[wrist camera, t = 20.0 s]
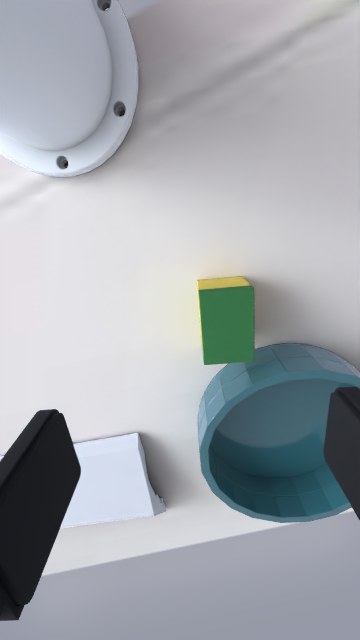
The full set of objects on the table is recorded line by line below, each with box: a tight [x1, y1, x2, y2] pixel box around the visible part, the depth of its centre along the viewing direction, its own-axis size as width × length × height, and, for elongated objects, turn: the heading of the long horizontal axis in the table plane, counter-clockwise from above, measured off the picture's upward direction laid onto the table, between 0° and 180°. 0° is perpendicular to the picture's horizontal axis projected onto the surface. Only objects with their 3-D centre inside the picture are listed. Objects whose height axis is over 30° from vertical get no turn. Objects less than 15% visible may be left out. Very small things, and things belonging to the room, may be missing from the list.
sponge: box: [197, 276, 254, 365], centre depth 22 cm, size 6×4×4 cm, turn 6°
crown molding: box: [0, 433, 166, 528], centre depth 31 cm, size 29×12×4 cm, turn 104°
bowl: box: [198, 343, 360, 523], centre depth 26 cm, size 18×18×5 cm
